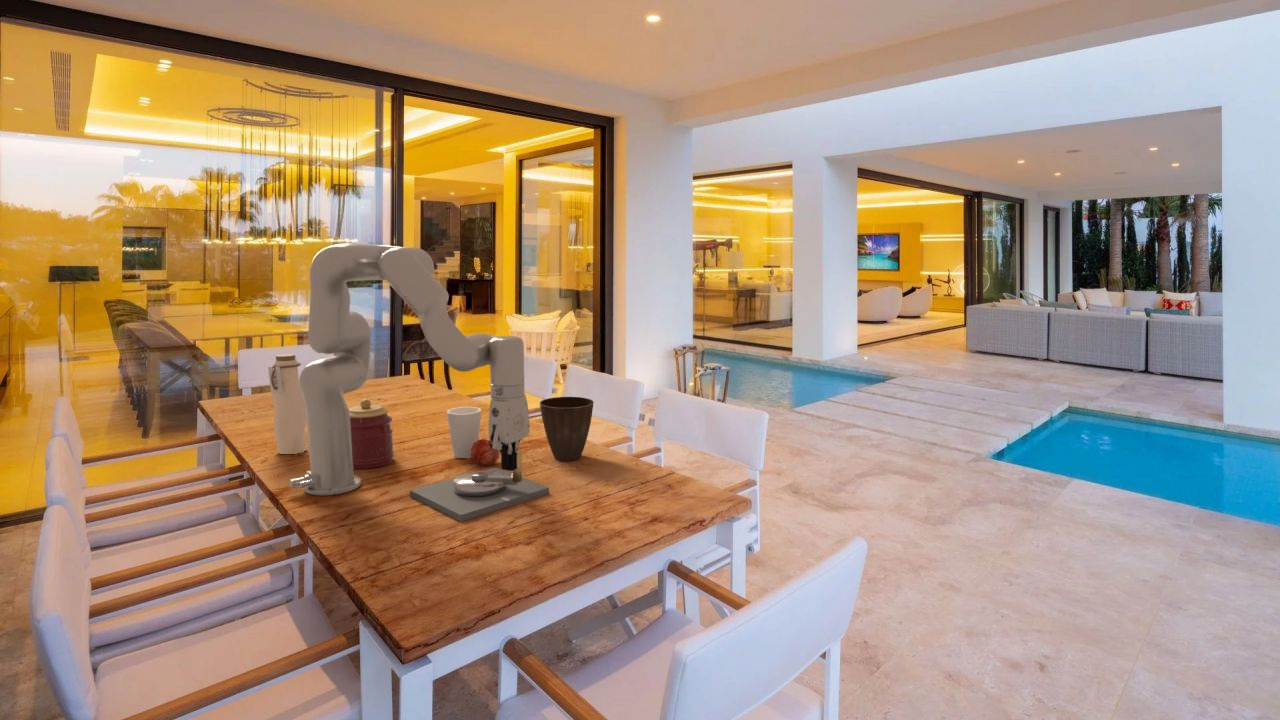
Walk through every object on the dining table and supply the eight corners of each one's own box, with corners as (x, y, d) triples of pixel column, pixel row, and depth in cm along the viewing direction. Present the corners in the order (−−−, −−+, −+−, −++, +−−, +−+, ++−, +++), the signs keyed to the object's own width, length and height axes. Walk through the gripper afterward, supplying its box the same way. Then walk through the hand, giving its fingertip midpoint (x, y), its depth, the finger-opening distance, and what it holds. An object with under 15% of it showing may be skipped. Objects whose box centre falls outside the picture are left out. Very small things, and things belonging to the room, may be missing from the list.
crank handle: (446, 495, 155) (444, 457, 153) (463, 478, 167) (462, 443, 165) (515, 498, 154) (514, 459, 152) (528, 480, 165) (527, 444, 164)
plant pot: (535, 452, 195) (534, 398, 192) (585, 447, 200) (585, 394, 197) (547, 467, 181) (546, 409, 178) (600, 462, 186) (600, 405, 184)
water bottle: (298, 457, 189) (290, 358, 184) (266, 457, 189) (258, 358, 184) (316, 447, 199) (309, 353, 194) (286, 446, 199) (278, 352, 194)
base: (462, 522, 144) (461, 514, 144) (410, 496, 159) (409, 489, 159) (550, 493, 161) (550, 487, 161) (495, 472, 177) (495, 466, 176)
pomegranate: (467, 474, 182) (484, 458, 176) (460, 449, 185) (476, 433, 179) (491, 471, 187) (508, 456, 181) (483, 447, 190) (500, 431, 184)
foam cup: (462, 462, 185) (460, 416, 183) (441, 456, 191) (439, 411, 189) (489, 454, 193) (488, 410, 191) (468, 448, 198) (467, 405, 196)
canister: (404, 460, 187) (401, 397, 184) (364, 473, 176) (360, 406, 173) (373, 452, 193) (370, 392, 191) (332, 464, 182) (328, 400, 180)
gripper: (501, 399, 144) (503, 481, 147) (539, 386, 158) (540, 462, 161) (473, 395, 147) (475, 476, 150) (512, 383, 161) (514, 458, 164)
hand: (509, 469), depth 155 cm, fingers closed
